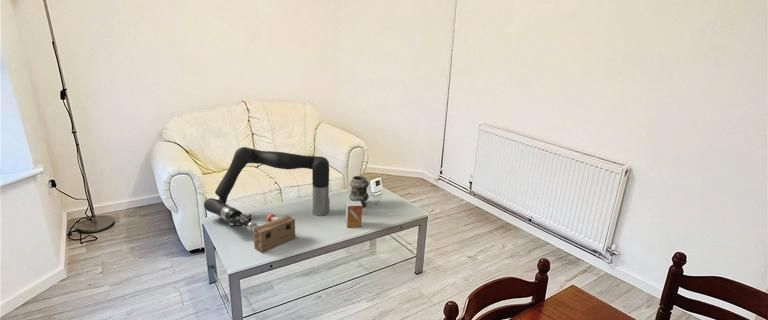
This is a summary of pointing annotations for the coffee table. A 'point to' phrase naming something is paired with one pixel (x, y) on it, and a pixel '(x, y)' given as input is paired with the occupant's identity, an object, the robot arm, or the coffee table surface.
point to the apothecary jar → (359, 189)
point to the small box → (353, 214)
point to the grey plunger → (252, 226)
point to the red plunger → (272, 218)
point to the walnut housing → (274, 234)
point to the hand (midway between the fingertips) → (250, 225)
